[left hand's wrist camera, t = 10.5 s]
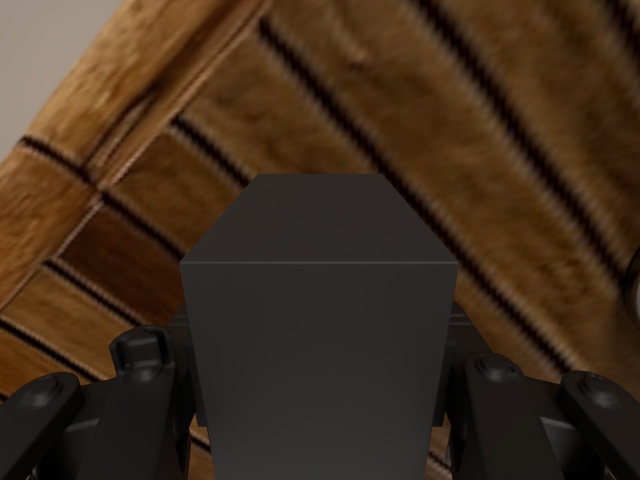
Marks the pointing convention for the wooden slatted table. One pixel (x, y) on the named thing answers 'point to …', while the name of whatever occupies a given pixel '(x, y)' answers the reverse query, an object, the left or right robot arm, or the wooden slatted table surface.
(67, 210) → the wooden slatted table surface
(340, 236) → the bar
